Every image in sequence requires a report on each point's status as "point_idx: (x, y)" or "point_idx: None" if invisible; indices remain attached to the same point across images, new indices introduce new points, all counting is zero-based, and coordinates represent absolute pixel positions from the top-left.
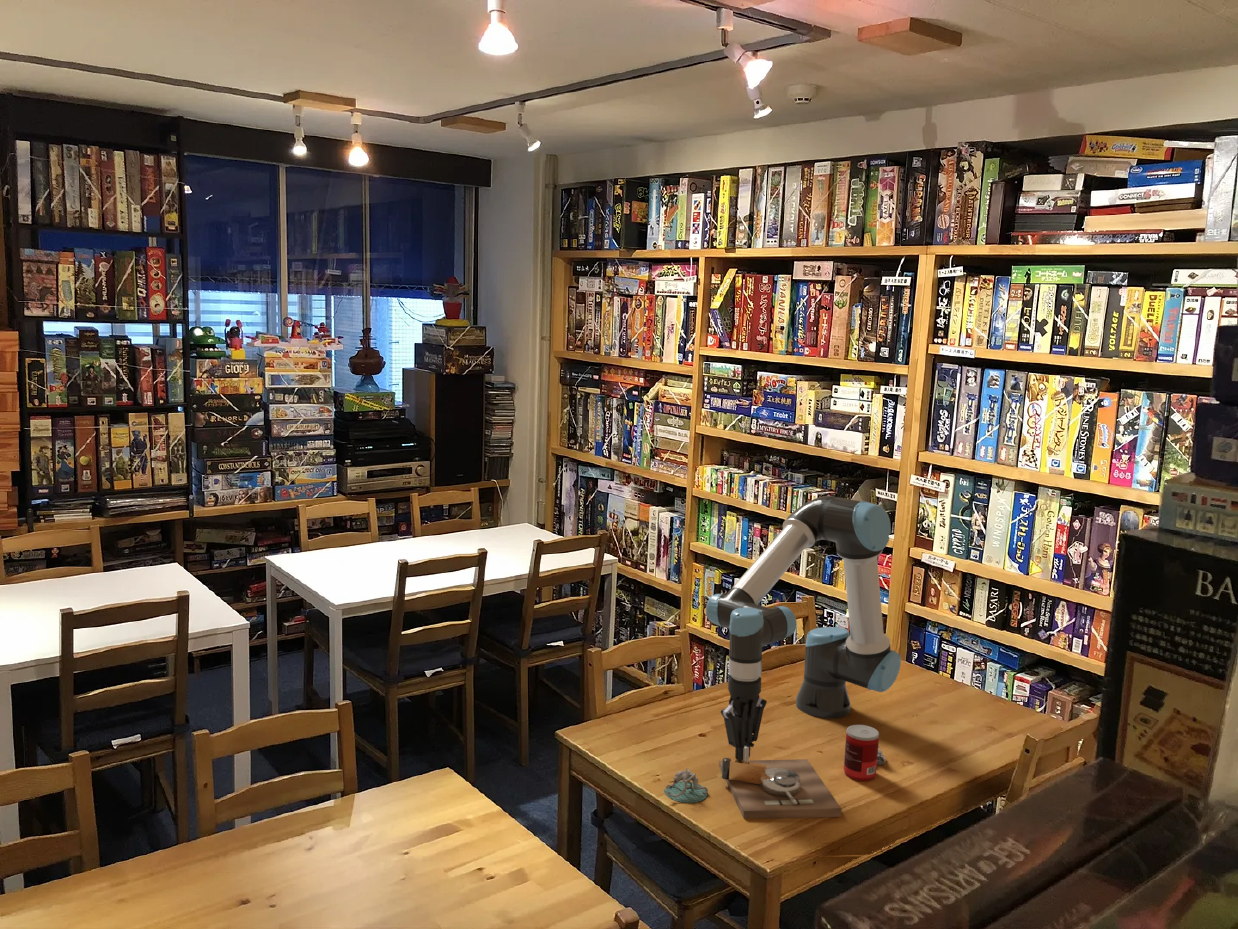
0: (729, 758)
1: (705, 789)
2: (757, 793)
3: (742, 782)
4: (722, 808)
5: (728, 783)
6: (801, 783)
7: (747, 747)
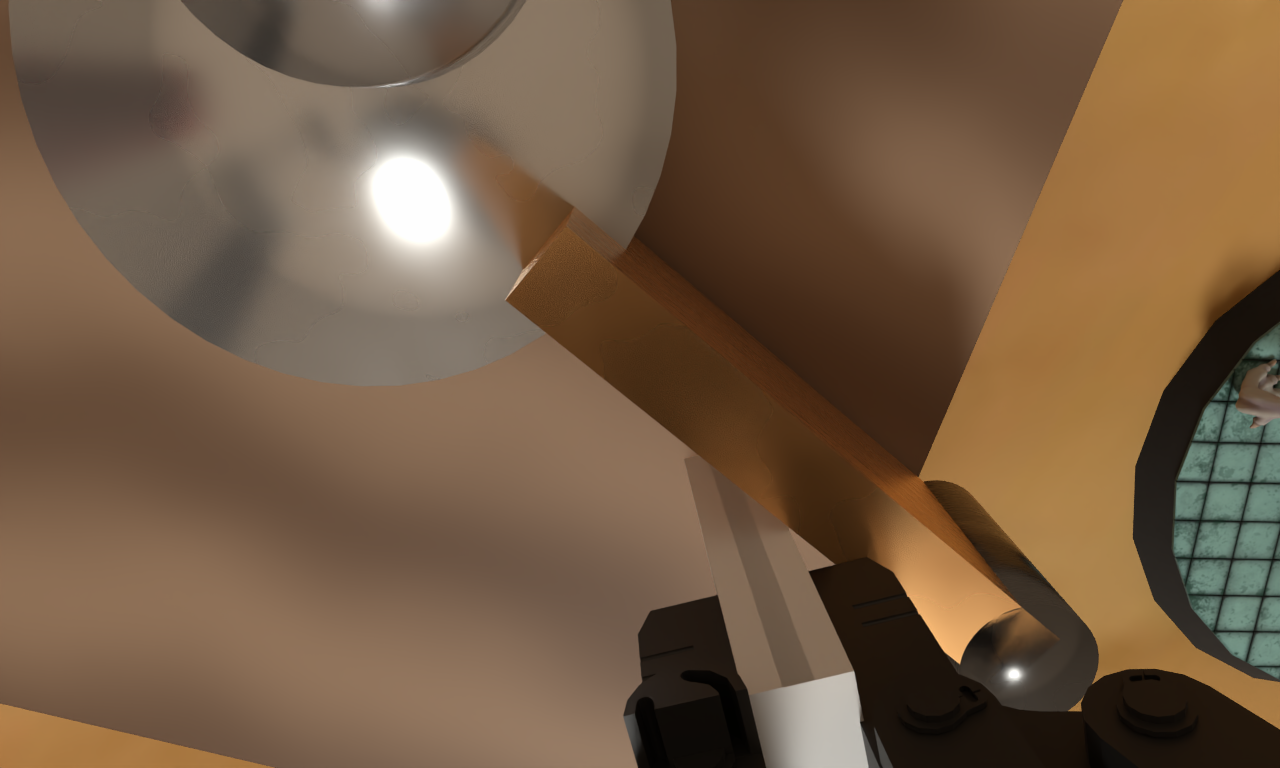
0: None
1: (1191, 461)
2: (783, 41)
3: None
4: (1235, 62)
5: None
6: None
7: (780, 698)
